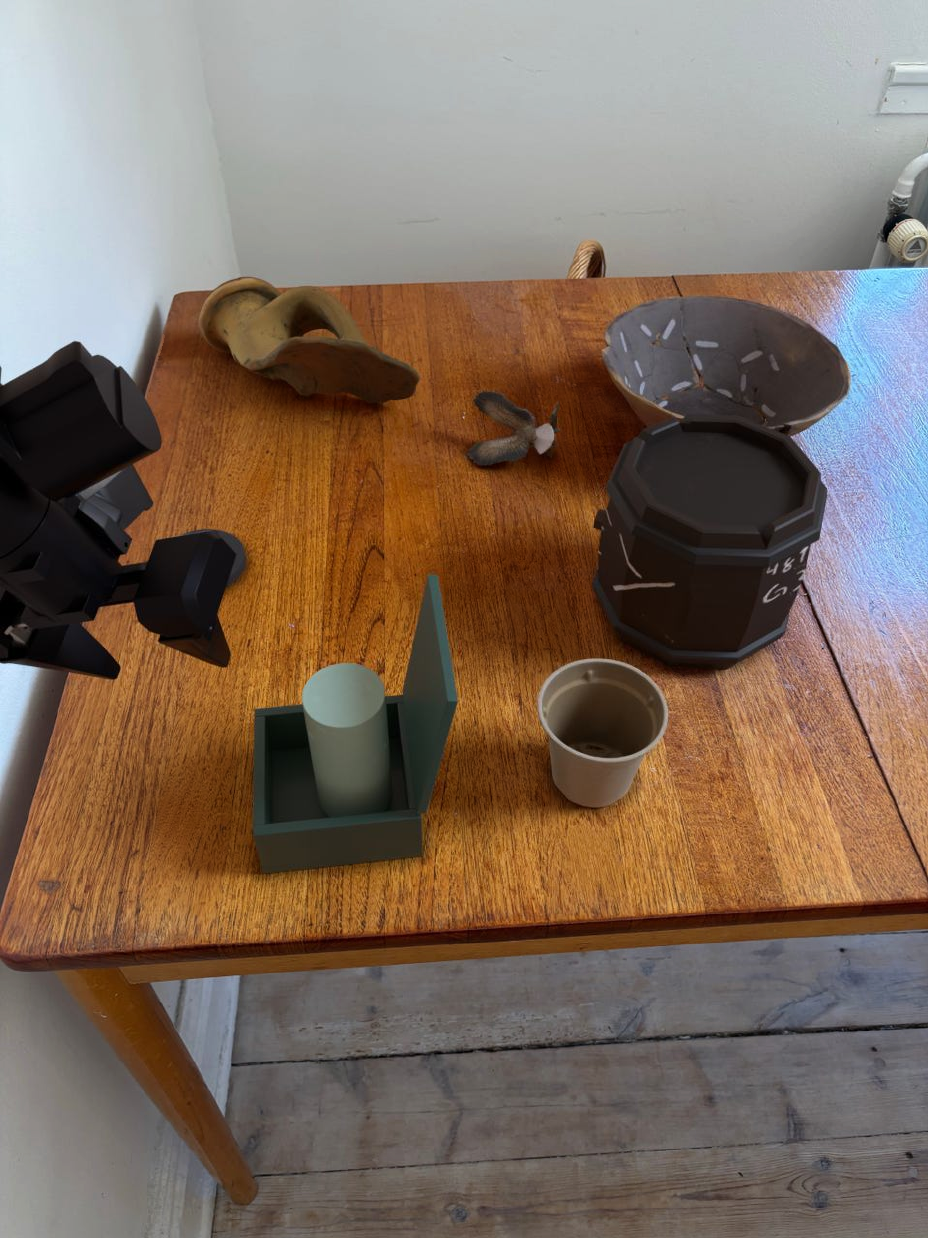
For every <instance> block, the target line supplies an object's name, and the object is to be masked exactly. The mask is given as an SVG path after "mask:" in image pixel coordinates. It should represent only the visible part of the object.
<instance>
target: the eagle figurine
mask: <svg viewBox="0 0 928 1238" xmlns="http://www.w3.org/2000/svg"><path fill="white" fill-rule="evenodd" d="M474 397H475V398H473V399H472V402H473V403H474V406H475V407H476V408H477V411H479V412H480V413H483V414H484V415H486V416H487V417H489V418H490V419H491V420H493V421H494V422H495V423H497V424H498V425H502V426H504V427H506V428H508V429H510V430H513V431H514V434H512V435H510V436H505V437H499V438H493V439H490V440H485V441H477V442H476V443H475V444H474V445H472V446H471V448H469V449H468V450H467V456H468V458H469V459H470V460H473V463H474V464H475V463H476V464H477V465H478V466H485V467H487V466H492V465H493V464H500V463H501V462H508V461H509V462H516V461H520V459H524V457H526V456H527V453H528V451H529V449H531V448H532V447H534V448H535V450H536V451H537V453H538V454H539V455H542V454H544V453H546V456H549V457H550V458H552V457H553V446H554V447H558V443H557V442H556V440H555V437H556V434H557V433H562V429H561V428H557V427H558V419H559V410H560V403H561V402H560V401H556V403H555V405H554V406H553V411H552V412H551V413H550V417H549V422H545V423H544V424H541V425H539V426H535V425H536V424H535V423H536V420H535V417H534V416H533V414H532V413H531V412H530V411H528V409H527V408H520V407H519V406H516V404H515V403H514V402H512V401H510V400H509V399H508V398H506V397H505V395H504V394H503V393H500V392H499V391H492V390H490V391H489V390H486V391H485V390H482V391H481V392H478V393H477V394H475V395H474Z"/></svg>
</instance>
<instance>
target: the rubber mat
mask: <svg viewBox="0 0 928 1238" xmlns="http://www.w3.org/2000/svg"><path fill="white" fill-rule="evenodd" d="M209 530H216V532H217V533H218V534H219V535H220V536H221V537H222V538H223V539H224V541H225V542H226V543H227V544H228V545H229V546H230V547H231V548H232V549H233V551H234V552H235V553H236V554H237V555H236V558H235V561H234V564H233V567H232V570H231V574H230V577H229V580H228V583H227V586H226V588H228V587H230V586H231V585H233V584H234V583H235V582H237V580H238V579H240V577H241V576H242V574H243V573H244V571H245V568H246V564H247V557H246V551H245V547H244V544H243V543H242V542H241V541H240V539H239V538H238V537H236V536H235V535H234V534H232V533H230V532H227V531H225V530H222V529H221V530H220V529H213V528H203V529H194V530H191V531H187V532H185V533H182V534H181V535H186V534H192V533H198V532H203V531H209Z"/></svg>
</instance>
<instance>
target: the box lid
mask: <svg viewBox="0 0 928 1238" xmlns="http://www.w3.org/2000/svg"><path fill="white" fill-rule="evenodd" d="M438 575H439V574H435V573H434V574H432V573H429V574H427V577H426V581H425V586H424V590H423V595H422V599H421V604H420V607H419V613H418V617H417V622H416V627H415V631H414V635H413V640H412V645H411V650H410V654H409V659H408V662H407V668H406V673H405V676H404V681H403V686H402V690H401V691H402V695H403V700H404V708H405V717H406V725H407V734H408V743H409V751H410V760H411V768H412V777H413V786H414V794H415V803H416V811H417V814H421V815H426V814H427V812H428V809H429V807H430V806H429V805H430V802H431V799H432V795H433V792H434V787H435V786H436V785H435V784H436V781H437V778H438V773H439V770H440V767H441V763H442V760H443V756H444V753H445V748H446V747H447V746H446V745H447V742H448V738H449V734H450V731H451V728H452V724H453V720H454V717H455V713H456V711H457V710H456V709H457V707H458V703H459V699H458V698H459V697H458V691H457V686H456V679H455V673H454V667H453V661H452V655H451V649H450V644H449V643H450V642H449V638H448V637H449V636H448V630H447V625H446V619H445V612H444V606H443V600H442V594H441V588H440V582H439V576H438Z"/></svg>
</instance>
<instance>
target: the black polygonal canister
mask: <svg viewBox="0 0 928 1238" xmlns="http://www.w3.org/2000/svg"><path fill="white" fill-rule="evenodd" d="M613 467H614V468H613V470H612V472H611V474H610V477H609V479H608V482H607V483H606V487H605V492H606V493H607V495H608V497H609V499H608V503H607V507H606V509H603V508H599V509H598V510H597V512H596V515H595V517H594V520H593V525H592V528H593V529H595V530H599V531H600V536H599V542H598V550H597V568H596V571H595V573H594V576H593V578H592V580H591V586H592V591H593V593H594V594H595V596H596V599H597V600H598V602H599V605H600V607H602V610H603V612H604V613H605V615H606V617H607V619H608V621H609V623H610V625H611V627H612V629H613V631H614V632H615V634H616V635H617V636H618V639H619V640H620V642H621V643H623V644H625V645H626V646H629V647H630V648H632V649H634V650H636V651H637V652H640V653H641V654H643V655H645V656H646V657H649V658H650V659H652V660H654V661H656V662H658V663H660V664H662V665H663V666H665V667H667V668H669V669H692V670H693V669H696V670H720V671H721V670H722V671H723V670H725V671H727V670H729V669H730V668H732V667H733V666H735V665H737V664H739V663H740V662H742V661H744V660H746V659H748V658H749V657H751V656H753V655H755V654H756V653H758V652H759V651H761V650H763V649H766V647H768V646H770V645H771V644H773V643H775V642H777V641H779V640H780V639H781V638H783V637H784V635H785V634H786V631H787V627H788V622H789V617H790V611H791V609H792V607H793V606H794V604H795V601H796V600H797V596H798V593H799V590H800V587H801V585H802V582H803V579H804V577H805V574H806V570H807V564H808V559H809V555H810V550H811V545H812V544H814V543H816V542H818V541H819V540H820V538H821V533H822V532H821V531H822V527H823V521H824V516H825V511H826V505H827V500H828V499H827V498H828V487H827V486H826V485H825V484H824V482H823V481H822V472H821V471H820V470H819V468H817V466H816V465H815V464H814V463H813V461H812V460H811V459H810V458H809V457H808V455H807V454H806V453H805V452H804V451H803V450H802V449H801V447H800V446H799V444H797V442H795V440H794V439H793V438H792V436H791V437H789V436H787V435H784V434H782V433H780V432H777V431H775V430H772V429H770V428H767V427H765V426H763V425H760V424H758V423H755V422H753V421H750V420H748V419H746V418H743V417H741V416H738V415H708V414H687V415H686V416H685V417H684V418H683V419H681V420H680V421H678V420H677V418H676V417H675V416H674V417H672V418H669V419H667V420H665V421H662V422H660V423H658V424H655V425H653V426H651V427H646V428H643V429H642V430H641V431H640V433H639V434H638V435H637V436H634V438H633V439H632V440H629V441H627V442H625V443H624V444H623V446H622V448H621V451H620V453H619V455H618V457H617V460H616V462H615V465H614V466H613Z"/></svg>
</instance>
